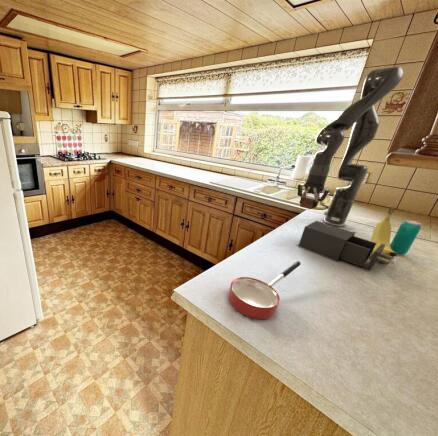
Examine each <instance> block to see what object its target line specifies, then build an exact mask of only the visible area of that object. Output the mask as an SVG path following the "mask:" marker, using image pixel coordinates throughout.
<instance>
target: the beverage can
mask: <svg viewBox="0 0 438 436" xmlns="http://www.w3.org/2000/svg"><path fill="white" fill-rule="evenodd" d="M421 229H422V223H421V222H419V221H415V220H412V219H404V220H403V221H402V222H401V223H400V225H399V227H398V229H397V231H396V232H395V234H394V236H393V239H392V240H391V241H390V247H391V249H392V251H394V252H395V253H396V254H397V256H400V257H404V256H405V255H406V254H408V253H409V250H411V249H410V248H411V247H412V245H413V243H414V241H415V240H416V238H417V237H418V234H419V232H420V231H421Z"/></svg>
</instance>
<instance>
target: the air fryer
mask: <svg viewBox="0 0 438 436" xmlns="http://www.w3.org/2000/svg"><path fill="white" fill-rule="evenodd" d="M352 236H356V232H354V231H351V230H348V229H344V228H342V227H339V226H333V225H330V224H327V223H325V222H321V221H319V220H315V221H313V222H311V223H309V224H307V225H305V226H304V228H303V231H302V234H301V237H300V240H299V243H298V247H299V248H301V249H305V250H308V251H310V252H312V253H315V254H318V255H320V256H323V257H325V258H328V259H331V260H333V261H336V262H339V260H341V258H339V257H340V254H341V252H342V250H343V247H344V245H345V243H346V241H347V240H348V239H350V238H351V237H352Z"/></svg>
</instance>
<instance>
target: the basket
mask: <svg viewBox="0 0 438 436" xmlns="http://www.w3.org/2000/svg"><path fill="white" fill-rule="evenodd" d="M371 241H372V240H368V239H364V238H361V237H359V236H356V235H354V236H352V237H351V238H350V239H348V240H347V241H346V243H345V245H344V247H343V250H342V252H341V254H340V257H339V258H340V260H344V261H347V262H350V263H352V264H354V265H357V266H360V267H363V266H364V265H365V264H366V263H367V262H368V260H369V259H370V260H369V262H368V264H367V266H366V268H365V270H366V271H369V272H371V270H372V269H373V268H374V267H375V265H376V264H377V263H378V262H379V261H378V259H380V260H383V261H386V262H389V264H388V265H392V266H393V265H395V264H396V263H397V260H398V259H399V257H396V256H394V257H392V256H389V255H386V254H383V253H382V251H383V249H384V247H385V245H384V244H381V245H380V246H379V247H378V248H377V249H376V250H375V252H374V254H373V253H372V251H373V249H374V247H375V245H376V243H374V242H371ZM371 255H372V256H371ZM380 255H383V256H386V257H389V258H392V259H391V260H390V261H389V260H387V259H384V258H381V257H380Z"/></svg>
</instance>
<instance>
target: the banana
mask: <svg viewBox="0 0 438 436" xmlns="http://www.w3.org/2000/svg"><path fill="white" fill-rule="evenodd" d="M394 213H395V207H394V206H390V207H389V208H388V211H387V216H385V218H384V219H382V220H381V221H379V222H378V223H377V224H376V225H375V227H374V229H373V231H372V234H371V240H370V241H371V242H374V243H376V245H375V247H374V249H373V251H372V253H371V254H372V255H373V254H374V252H375V250H376V249H377V248H378V247H379V246H380V245H381V244H384V245H385V247H384V249H383V251H382V253H383V254H386V255H389V256H392V257H394V256H396V257H397V258H399V257H398V256H399V255H397V254H396V253H395V252H394V251H392V249H391V247H390V244H391V235H392V224H391V223H392V222H391V217H392V215H393V214H394ZM380 257H381V258H384V259H387V260H389V261H390V260H391V259H392V258H389V257H386V256H383V255H380ZM377 262H380V263H381V264H387V265H390V264H389V262H386V261H383V260H380V259H378V261H377Z"/></svg>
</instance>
